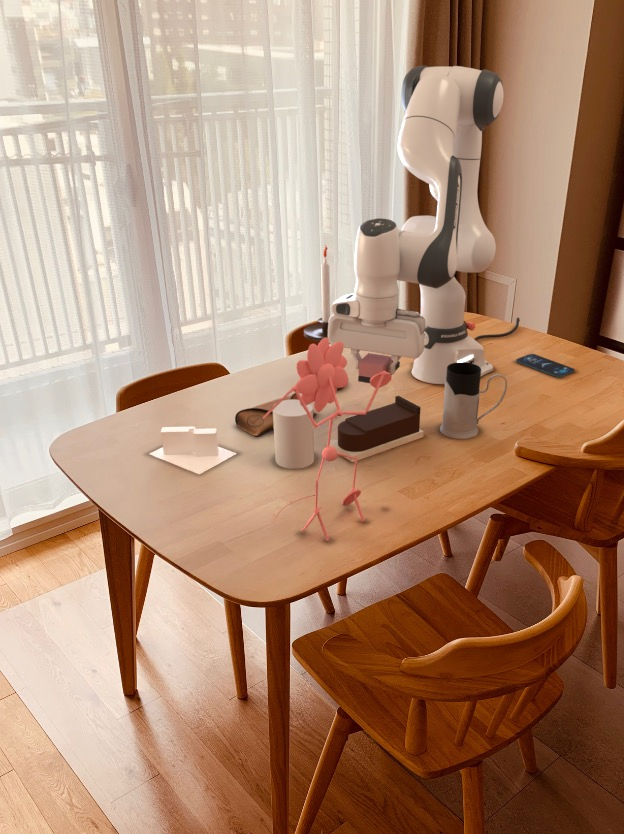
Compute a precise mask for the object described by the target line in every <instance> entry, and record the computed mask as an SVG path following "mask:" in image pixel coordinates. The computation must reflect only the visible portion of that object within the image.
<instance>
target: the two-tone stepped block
mask: <svg viewBox="0 0 624 834" xmlns="http://www.w3.org/2000/svg"><path fill="white" fill-rule="evenodd" d="M393 361H394V360H392V359H391V355H385V354H379V353H372V352H371V353H370V352H367V354H365V356H363V358H362V360H361V361H360V362H359V369H358V380H357V381H358V382H359V383H366V384H370V379H371V378H372V377H373V376H374V375H376V374H378V373H381V372H382V371H387V370H386V366H387V365H388V364H389V363H390V364H392V363H393ZM400 364H401V361H400V360H399V361H398V362H397V364H396V365H395V372H396V371H397V370H398V369H399V368H400V367H401V366H400ZM391 376H393V375H391Z"/></svg>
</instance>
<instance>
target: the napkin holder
mask: <svg viewBox="0 0 624 834" xmlns="http://www.w3.org/2000/svg"><path fill="white" fill-rule="evenodd" d="M160 439H161V445H162V447H160V448H158V449H156V450H154V451H152V452H150V453H149V455H150V456H152V457H155V458H157V459H159V460H162V461H164V462H167V463H169V464H172V465H175V466H178V467H179V468H182V469H184V470H187V471H189V472H192V473H195V474H197V475H201V474H203V473H205V472H207V471H208V470H210V469H212V468H214V467H215V466H218V465H220V464H221V463H223V462H225V461H226V460H228V459H230V458H232V457H234V456H235V455H237V452H234V451H231V450H228V449H226V448H223V447H221V446H219V437H218V429H217V428H215V427H211V428H196V426H195V425H193V426H162V427H161V430H160Z"/></svg>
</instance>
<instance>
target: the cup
mask: <svg viewBox="0 0 624 834" xmlns="http://www.w3.org/2000/svg"><path fill="white" fill-rule="evenodd" d="M306 406H307V408H308V410H309V412H310V414H311V415H312V417H313V418H314V416H313V412H314V406H313V404H312V403H310V404H308V405H306ZM273 424H274V430H273V440H274V456H275V463H276V464H277V465H278V466H279V467H281V468H284V469H289V470H299V469H304V468H307V467H309V466H311V465H313V463H314V461H315V443H314V442H315V441H314V440H315V437H314V426H313V424H312V422H311V420H310V418H309V417H308V415H307V413H306V411H305V410H304V408H303V406H301V404H300V401H299V400H295V399H292V400H284V401H282V402H281V403H280V404H279V405H277V406H276V407H275V408H274V409H273Z"/></svg>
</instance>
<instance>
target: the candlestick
mask: <svg viewBox="0 0 624 834" xmlns="http://www.w3.org/2000/svg"><path fill="white" fill-rule="evenodd" d="M327 253H328V246H327V244H325V247H324V249H323V253H322V254H323V257H324V258H323V262H322V263H320V267H321V272H320V273H321V314H322V315H321V317H320V318H318V319H317V322H319V323H313V324H310V325H308V326H305V327H304V329H303V336H304V337H305V339H307V340H309V341H313V342H316V343H319V342H320V341H321V340H322V339H323V338H325V337H326V338H328V324H329V319H330V317H331V295H330V292H331V291H330V290H331V289H330V284H331V283H330V281H331V280H330V263H328V259H327V256H328V254H327ZM344 389H345V387H341V388H338V387H337V391H336V393H337V392H340V391H342V390H344Z"/></svg>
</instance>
